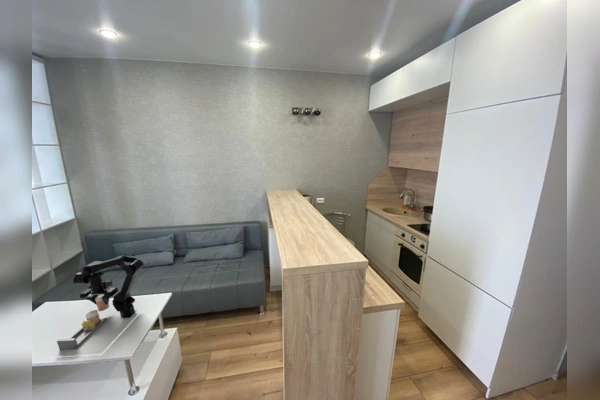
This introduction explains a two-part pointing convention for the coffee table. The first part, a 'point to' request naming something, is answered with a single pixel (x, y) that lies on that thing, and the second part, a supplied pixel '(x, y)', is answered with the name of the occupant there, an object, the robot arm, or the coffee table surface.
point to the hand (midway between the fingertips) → (102, 304)
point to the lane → (78, 337)
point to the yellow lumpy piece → (88, 325)
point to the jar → (101, 303)
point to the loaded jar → (93, 317)
